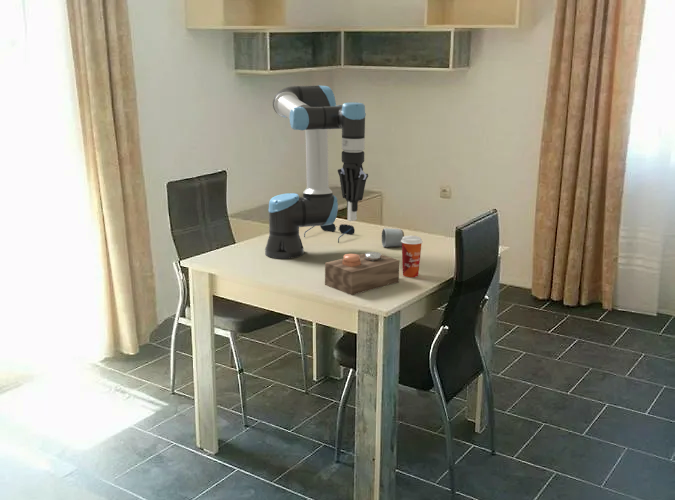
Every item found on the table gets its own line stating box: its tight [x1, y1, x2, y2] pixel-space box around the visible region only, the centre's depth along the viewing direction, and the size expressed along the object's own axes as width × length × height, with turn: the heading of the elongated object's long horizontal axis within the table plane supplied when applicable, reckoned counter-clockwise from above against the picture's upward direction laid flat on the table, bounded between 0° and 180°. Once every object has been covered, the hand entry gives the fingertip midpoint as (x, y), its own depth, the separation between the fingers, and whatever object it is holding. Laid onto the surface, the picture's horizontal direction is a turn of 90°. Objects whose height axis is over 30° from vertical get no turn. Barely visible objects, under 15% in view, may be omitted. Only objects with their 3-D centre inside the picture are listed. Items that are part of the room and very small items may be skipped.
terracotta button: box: [343, 253, 361, 267], centre depth 264 cm, size 6×6×8 cm
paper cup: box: [401, 235, 423, 279], centre depth 277 cm, size 8×8×14 cm
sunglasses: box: [303, 222, 356, 244], centre depth 330 cm, size 17×15×5 cm
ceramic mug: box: [381, 227, 405, 248], centre depth 317 cm, size 11×8×8 cm
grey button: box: [364, 251, 382, 262], centre depth 271 cm, size 6×6×8 cm
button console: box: [324, 252, 400, 296], centre depth 268 cm, size 14×22×8 cm, turn 130°
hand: (352, 220), depth 260 cm, fingers closed
